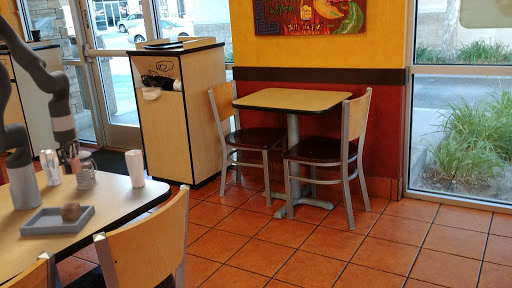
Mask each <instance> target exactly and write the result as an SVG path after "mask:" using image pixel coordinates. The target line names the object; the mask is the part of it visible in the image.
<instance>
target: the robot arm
mask: <svg viewBox="0 0 512 288" xmlns="http://www.w3.org/2000/svg"><path fill="white" fill-rule="evenodd" d="M0 39H1V40H2V42H4V43H5V45H6V46H7V48H8V50H9V53H10V55H11V58H12V59H13V60H14V62H16V64H18V66H19V67H21V68H22V69H23V70H24V71H25V72H26V73H28V75H29V76H30V78H31V79H32V81H33V82H34V83H35V85H36V87H37V88H38V89H39V90H40V91H42V92H43V93H44V94H48V95H52V97H51V99H50V100H49V101H48V103H47V106H48V107H47V108H48V112H49V117H50V125H51V130H52V134H53V135H52V136H53V140H54V143H55V142H56V143H57V144H59V149H58V150H56V154H57V157H58V162H59V165H60V166H61V165H64V167H65V172H66V174H72V168H71V162H70V158H71V157H77V155H79V151H80V150H79V143H78V139H77V133H76V132H75V130H76V126H75V122H74V119H73V115H72V112H71V106H70V93H71V91H70V88H71V85H70V80H69V77H68V76H67V74H66V73H65V72H63V71H61V70H55V71H51V72H48V71H47V70H46V68H47V66H48V64H47V62H46V60H45V59H44V58H42V57H41V56H40V55H39V54H38V53H37V52H36V51H35V50H33V48H31V47H30V46H29V44H27V43H26V42H25V41H24V40H23V39H22V37H21V36H20V35H19V34H18V33H17V32H16V30H15V29H14V28H13V27H12V25H11V24H10V23H9V22H8V21H7V19H6V18H5V17H4V16H3V15H2V14H1V13H0ZM12 90H13V86H12V81H11V77H10V72H9V70H8V68H7V67H6V66H5V64H4V63H3V62H2V60H1V59H0V152H6V151H10V150H11V151H12V150H14V149H15V150H14V151H13V153H12V154H10V156H8V157H7V158H6V159H5V160H4V164H5V169H6V173H7V176H8V177H7V178H8V180H9V184H10V185H9V186H8V191H9V195H10V197H11V202H12V206H13V209H14V210H18V211H28V210H33V209H35V208H38V207H40V206H41V205H42V204H43V200H42V196H41V193H40V189H39V187H40V186H39V184H38V179H37V175H36V171H35V167H34V163H33V158H32V157H33V155H32V150H31V145H30V144H31V143H30V139H29V134H28V130H27V129H26V126H25V125H24V124H23V123H21V122H14V123H13V122H12V123H8V124H5V117H4V116H5V111H6V109H7V105H8V103H9V101H10V98H11V95H12ZM67 159H68V160H67Z"/></svg>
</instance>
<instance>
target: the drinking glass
mask: <svg viewBox="0 0 512 288" xmlns="http://www.w3.org/2000/svg"><path fill="white" fill-rule="evenodd" d="M124 157H125V158H124V159H125V162H126V167H127V171H128V174H129V178H130V183H131V186H132V187H133V188H134V187H135V188H134V189H139V188H138V187H140V188H143V187H144V186H145V185H146V182H145V169H144V159H143V153H142V150H141V149H131V150H128V151H126V152H125V153H124ZM142 186H143V187H142Z"/></svg>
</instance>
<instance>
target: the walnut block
mask: <svg viewBox="0 0 512 288" xmlns="http://www.w3.org/2000/svg"><path fill="white" fill-rule="evenodd" d="M80 205H81V203H80V202H79V201H77V202H65V203H64V204H63V205H61V206H62V207H61V209H60V212H61V216H62V221H63V222H70V221H77V220H78V219H79V218H80V216H81V215H82V212H81V208H80Z"/></svg>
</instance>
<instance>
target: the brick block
mask: <svg viewBox="0 0 512 288" xmlns="http://www.w3.org/2000/svg"><path fill="white" fill-rule="evenodd" d="M67 160H68V159H67ZM70 162H71V168H72V174H66V172H65V167H64V165H60V166H61V169H62V175H63V176H72V175H73V176H74V175H76V174H78V173H79V172H80V171H81V170H82V168H81V163H80V162H81V159H80V158H79V157H71V158H70Z"/></svg>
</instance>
